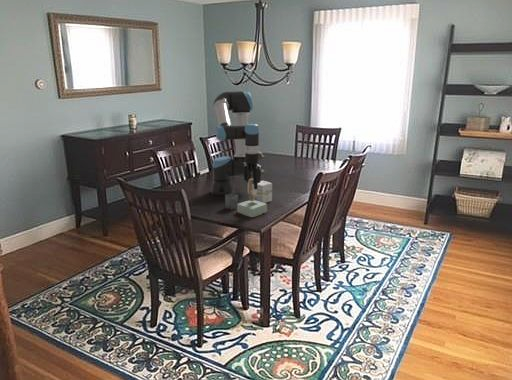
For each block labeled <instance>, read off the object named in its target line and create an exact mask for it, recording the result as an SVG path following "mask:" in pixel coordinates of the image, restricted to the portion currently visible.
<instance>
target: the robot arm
mask: <svg viewBox="0 0 512 380" xmlns="http://www.w3.org/2000/svg"><path fill="white" fill-rule="evenodd" d="M253 108H254V107H253V98H252V95H251V93H250V92H249V91H224V92H221V93H220V94H218V95H217V96H216V98H215V99H214V101H213V110H214V112H215V114H216V119H217V126H216V128H215V135H216V136H215V137H216V140H220V141H227V140H228V141H229V140H231V141H232V140H235V141H234V142H235V154H234V155H233V158H231V156H226V155H225V156H220V157H216V158H214V159H213V160H212V186H211V188H210V193H211V194H212V195H213V196H218V197H219V196H224V197H225V195H227V194H230V193H234V192H235V189H234V186H233V183H232V178H235V177H236V178H237V177H238V178H239V177H243V180H244V181H245V182H246V187H247V194H248V195H249V179H253V184H252V195H256V194H257V184H258V183H260V181H262V180H261V179H262V176H261V175H262V173H261V169H263V166H262V165H260V164H259V162H258V159H259V153H258V152H260V149H259V148H260V146H259V145H260V143H259V142H260V139H259V138H260V137H259V136H260V135H259V134H260V127H259V124H257V123H249V115H250V114H251V111H252V110H253ZM229 111H231V113H232V115H233V116H234V125H232V120H231V117H230V116H231V115H230V112H229ZM234 194H235V193H234Z"/></svg>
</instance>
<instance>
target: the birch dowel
mask: <svg viewBox="0 0 512 380" xmlns="http://www.w3.org/2000/svg"><path fill="white" fill-rule="evenodd" d="M252 184H253V178H251V179H249V194H248V200H249V201H255V195H252Z"/></svg>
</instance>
